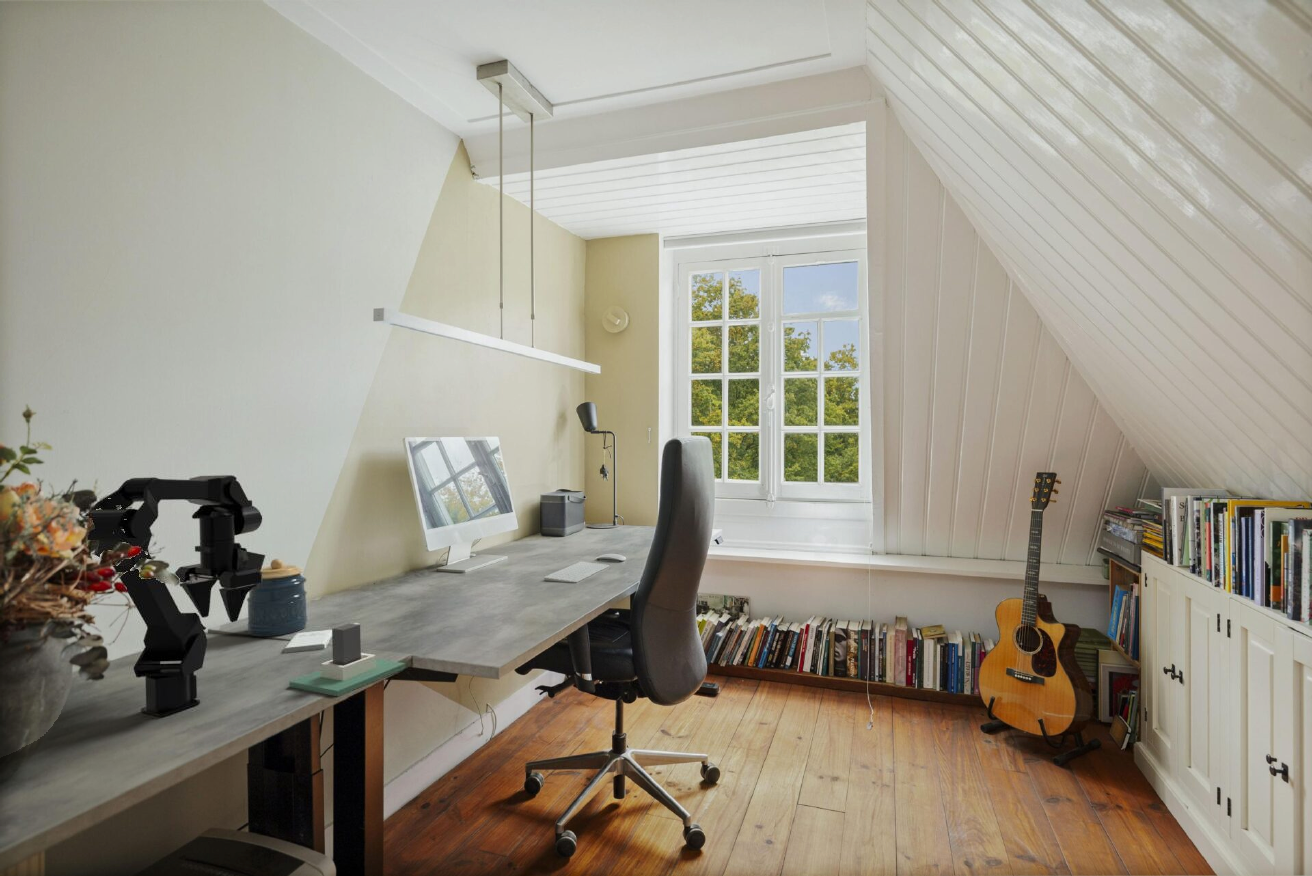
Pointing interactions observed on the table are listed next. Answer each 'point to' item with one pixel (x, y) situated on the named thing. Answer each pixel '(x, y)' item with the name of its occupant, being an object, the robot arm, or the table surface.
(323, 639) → the external hard drive
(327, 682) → the board
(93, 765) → the table surface
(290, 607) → the canister
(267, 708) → the table surface
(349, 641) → the plug
